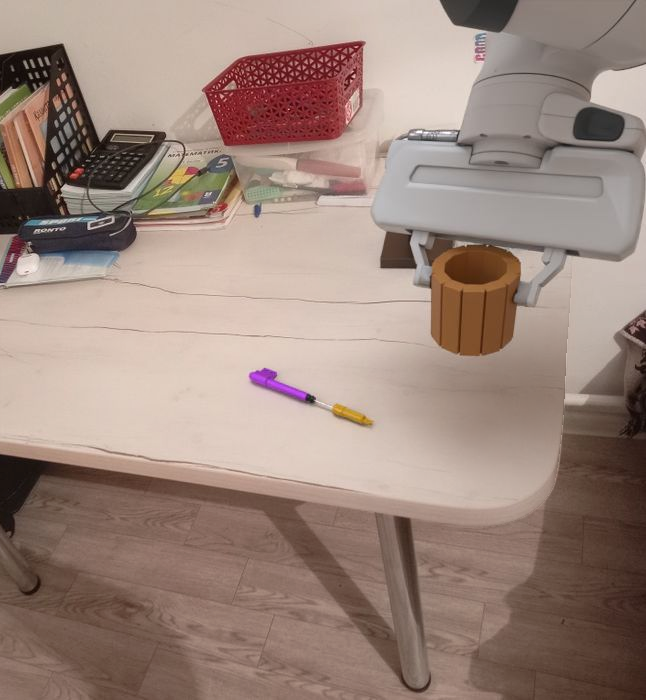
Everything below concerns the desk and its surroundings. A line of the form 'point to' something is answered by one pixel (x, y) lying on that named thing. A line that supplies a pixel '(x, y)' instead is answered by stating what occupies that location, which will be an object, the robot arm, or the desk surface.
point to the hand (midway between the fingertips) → (471, 296)
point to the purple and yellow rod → (303, 395)
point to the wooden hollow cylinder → (474, 299)
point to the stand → (408, 251)
